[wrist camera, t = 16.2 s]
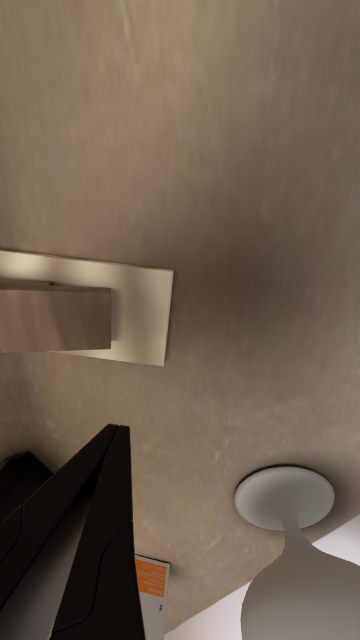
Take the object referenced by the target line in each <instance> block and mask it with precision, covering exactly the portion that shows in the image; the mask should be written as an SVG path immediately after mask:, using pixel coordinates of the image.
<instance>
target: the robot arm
mask: <svg viewBox="0 0 360 640" xmlns="http://www.w3.org/2000/svg"><path fill="white" fill-rule="evenodd" d="M57 612H58V613H57ZM56 615H57V616H56ZM55 618H56V619H55ZM54 620H55V623H54ZM53 623H54V626H53V629H52V633H51V634H52V636H51V637H50V639H49V640H146V636H145V629H144V622H143V615H142V608H141V601H140V594H139V587H138V580H137V571H136V563H135V550H134V532H133V505H132V474H131V444H130V427H129V426H125V425H120V426H119V425H117V424H108V425H107V426H105V427H104V428H103V429H102V430H101V431H100V432H99V433H98V434H97V435H96V436H95V437H94V438H93V439H91V440H90V441H89V442H88V443H87V444H86V445H85V446H84V447H83V448H82V449H81V450H80V451H79V452H77V453H76V454H75V455H74V456H73V457H72V458H71V459H70V460H69V461H68V462H67V463H66V464H65V465H64V466H62V467H61V468H60V469H59V470H58V471H57V472H56V473H55V474H54V475H52V474H51V473H50V472H49V471H48V470H47V469H46V468H45V467H43V466H42V465H41V464H40V463H39V462H38V461H37V460H36V459H35V458H34V457H33V456H32V455H31V454H29V453H23V454H21V455H19V456H16V457H14V458H11V459H8V460H6V461H4V462H1V463H0V640H47V638H48V635H49V633H50V630H51V628H52V625H53Z"/></svg>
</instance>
